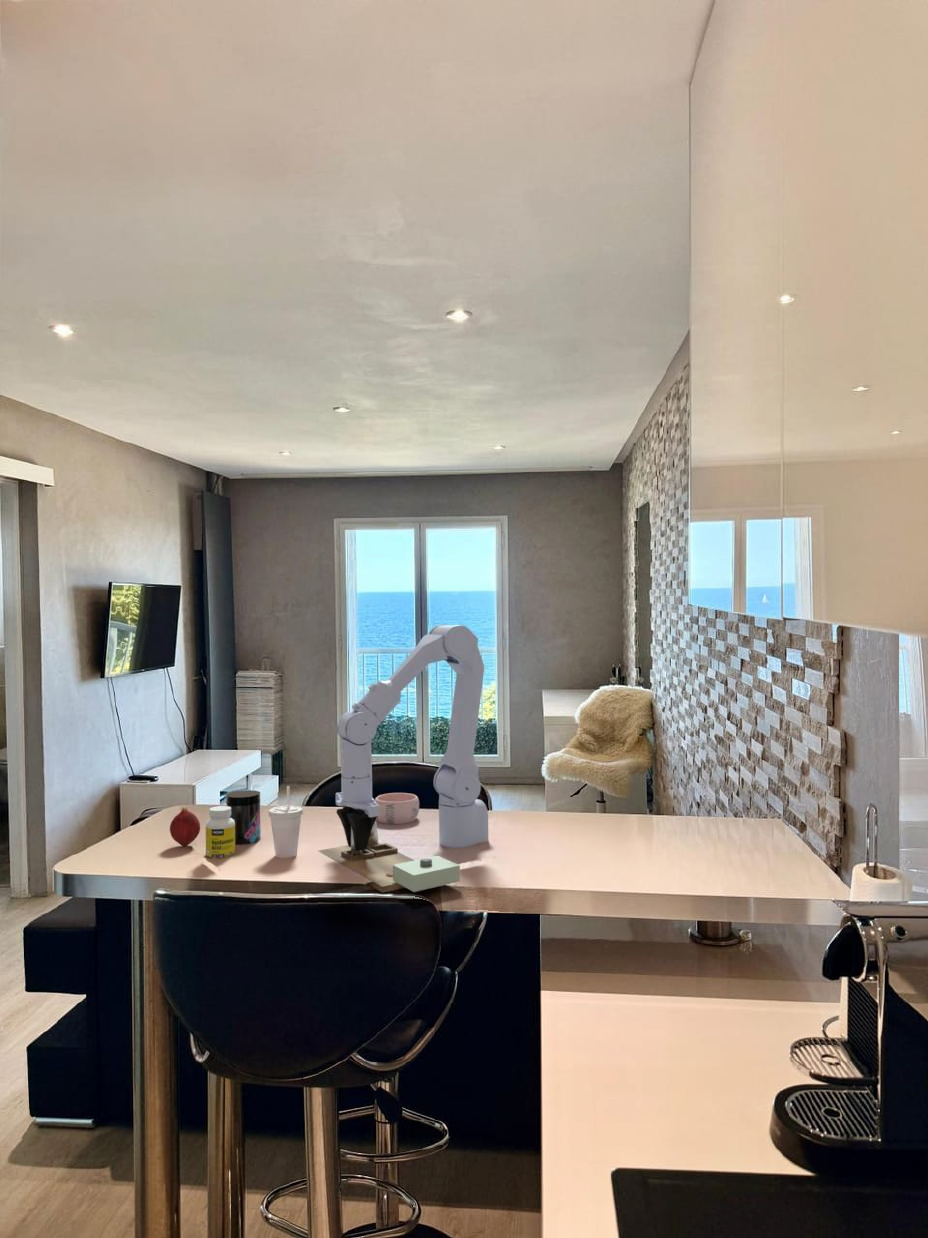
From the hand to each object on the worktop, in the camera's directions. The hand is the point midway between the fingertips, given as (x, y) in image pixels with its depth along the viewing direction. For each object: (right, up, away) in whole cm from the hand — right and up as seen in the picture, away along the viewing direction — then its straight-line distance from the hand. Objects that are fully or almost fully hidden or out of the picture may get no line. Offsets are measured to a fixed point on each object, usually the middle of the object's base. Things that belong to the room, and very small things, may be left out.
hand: (357, 848), depth 158 cm
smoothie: (-14, -3, +2) cm, 14 cm away
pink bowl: (+5, -3, +29) cm, 29 cm away
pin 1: (0, -1, 0) cm, 1 cm away
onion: (-36, -3, +12) cm, 38 cm away
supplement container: (-25, -3, +12) cm, 28 cm away
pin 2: (+2, -1, +8) cm, 8 cm away
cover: (+14, -1, -16) cm, 21 cm away
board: (+4, -3, -3) cm, 6 cm away
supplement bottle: (-27, -3, +3) cm, 27 cm away
